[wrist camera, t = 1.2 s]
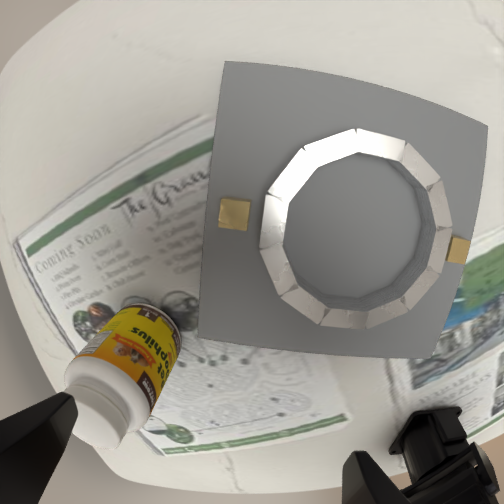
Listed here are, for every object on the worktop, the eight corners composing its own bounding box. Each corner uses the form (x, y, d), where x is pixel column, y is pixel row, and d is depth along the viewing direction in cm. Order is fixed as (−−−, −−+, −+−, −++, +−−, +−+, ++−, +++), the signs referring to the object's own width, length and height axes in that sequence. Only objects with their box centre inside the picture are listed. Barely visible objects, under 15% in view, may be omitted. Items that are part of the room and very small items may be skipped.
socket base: (426, 353, 21) (439, 373, 18) (200, 331, 21) (190, 353, 19) (481, 126, 15) (504, 124, 13) (227, 65, 16) (219, 49, 13)
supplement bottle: (197, 350, 22) (155, 457, 12) (142, 368, 23) (90, 459, 13) (157, 288, 21) (82, 378, 11) (104, 313, 22) (28, 393, 12)
